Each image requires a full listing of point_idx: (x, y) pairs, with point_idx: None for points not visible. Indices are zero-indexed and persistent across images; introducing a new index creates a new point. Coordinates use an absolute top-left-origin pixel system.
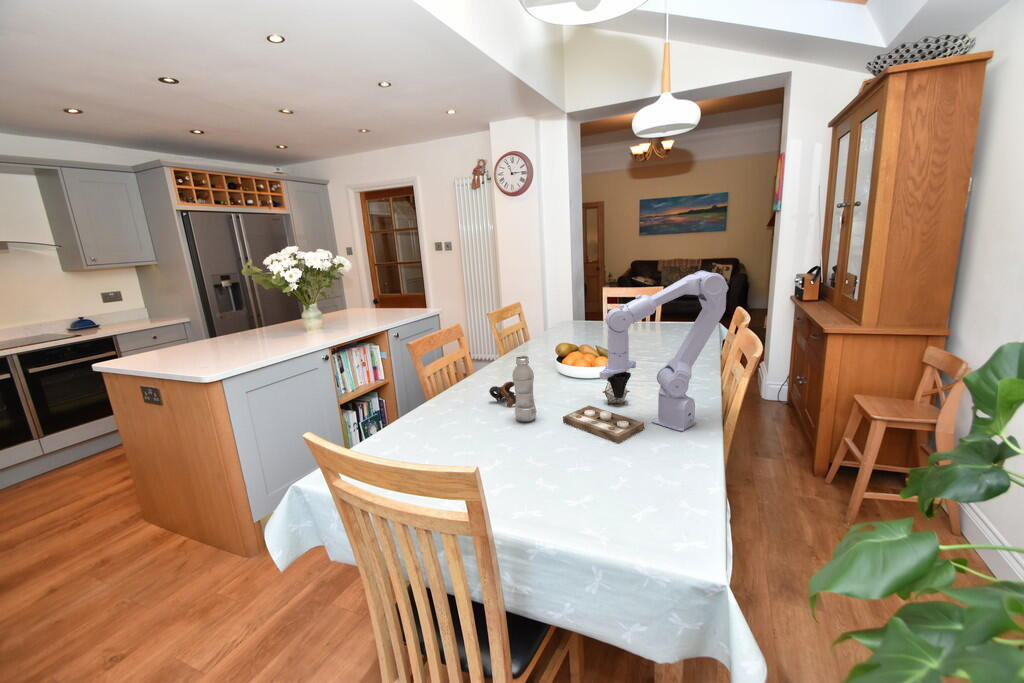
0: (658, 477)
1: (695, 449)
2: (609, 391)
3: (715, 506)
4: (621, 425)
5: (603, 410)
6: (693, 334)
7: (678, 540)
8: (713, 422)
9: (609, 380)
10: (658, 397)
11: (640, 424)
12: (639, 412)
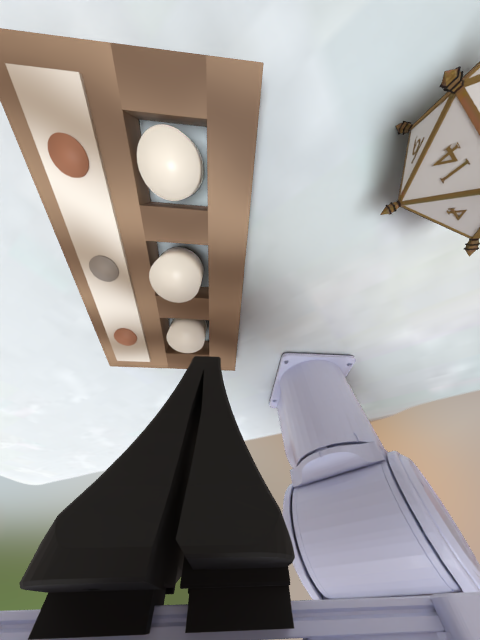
0: (96, 430)
1: None
2: (453, 132)
3: None
4: (169, 343)
5: (242, 213)
6: None
7: (29, 468)
8: None
9: (110, 476)
10: (321, 427)
11: None
12: (346, 295)
